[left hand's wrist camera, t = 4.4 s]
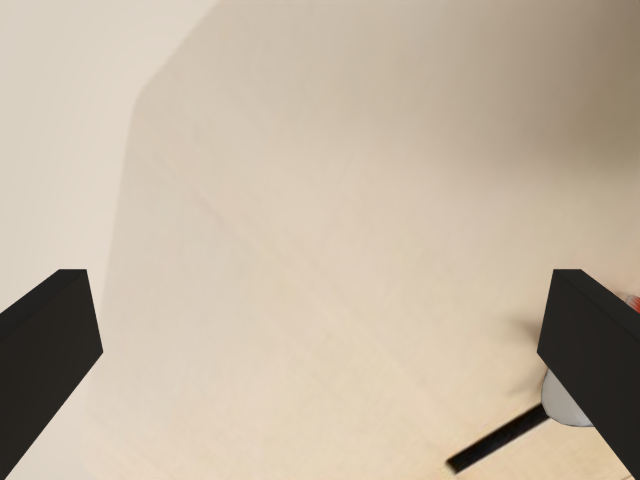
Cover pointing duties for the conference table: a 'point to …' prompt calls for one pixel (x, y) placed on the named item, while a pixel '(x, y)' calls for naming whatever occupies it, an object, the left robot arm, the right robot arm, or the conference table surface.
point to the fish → (559, 399)
